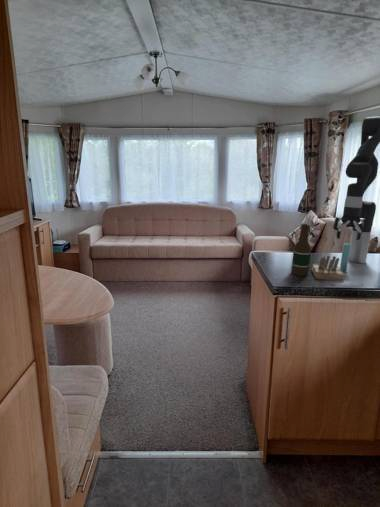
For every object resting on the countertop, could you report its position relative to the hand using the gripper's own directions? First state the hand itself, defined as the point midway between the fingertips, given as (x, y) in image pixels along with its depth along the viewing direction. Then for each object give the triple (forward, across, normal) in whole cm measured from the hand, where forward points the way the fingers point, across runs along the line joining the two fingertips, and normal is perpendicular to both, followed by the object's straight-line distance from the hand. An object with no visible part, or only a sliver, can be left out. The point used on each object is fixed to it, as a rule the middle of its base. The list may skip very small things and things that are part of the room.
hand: (347, 239), depth 165 cm
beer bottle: (+17, +22, +11) cm, 29 cm away
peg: (+16, 0, 0) cm, 16 cm away
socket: (+16, +9, +9) cm, 21 cm away
